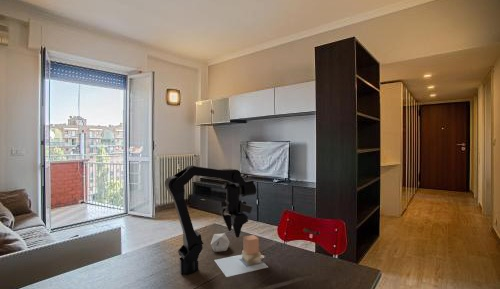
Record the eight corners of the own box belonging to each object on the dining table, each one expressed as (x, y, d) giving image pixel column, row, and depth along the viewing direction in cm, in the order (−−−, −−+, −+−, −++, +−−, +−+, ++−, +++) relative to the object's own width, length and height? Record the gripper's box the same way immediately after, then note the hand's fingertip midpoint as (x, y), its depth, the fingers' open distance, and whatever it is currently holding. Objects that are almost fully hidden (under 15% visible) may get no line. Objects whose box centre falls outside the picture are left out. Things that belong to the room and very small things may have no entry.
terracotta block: (248, 255, 109) (247, 240, 109) (243, 250, 114) (243, 236, 114) (259, 252, 111) (258, 238, 111) (253, 248, 116) (253, 234, 116)
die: (206, 252, 126) (207, 240, 120) (216, 238, 133) (217, 225, 127) (222, 260, 124) (224, 248, 118) (231, 245, 131) (233, 233, 125)
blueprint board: (226, 279, 99) (226, 276, 99) (214, 262, 114) (214, 260, 114) (268, 269, 107) (268, 267, 107) (251, 254, 121) (251, 252, 121)
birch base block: (247, 265, 108) (247, 255, 108) (242, 259, 114) (241, 250, 114) (260, 262, 111) (260, 253, 111) (254, 256, 116) (254, 247, 116)
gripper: (259, 200, 109) (259, 237, 109) (241, 192, 126) (242, 225, 126) (234, 203, 105) (234, 242, 105) (219, 194, 122) (220, 228, 122)
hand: (233, 233), depth 114 cm, fingers open, 9 cm apart
